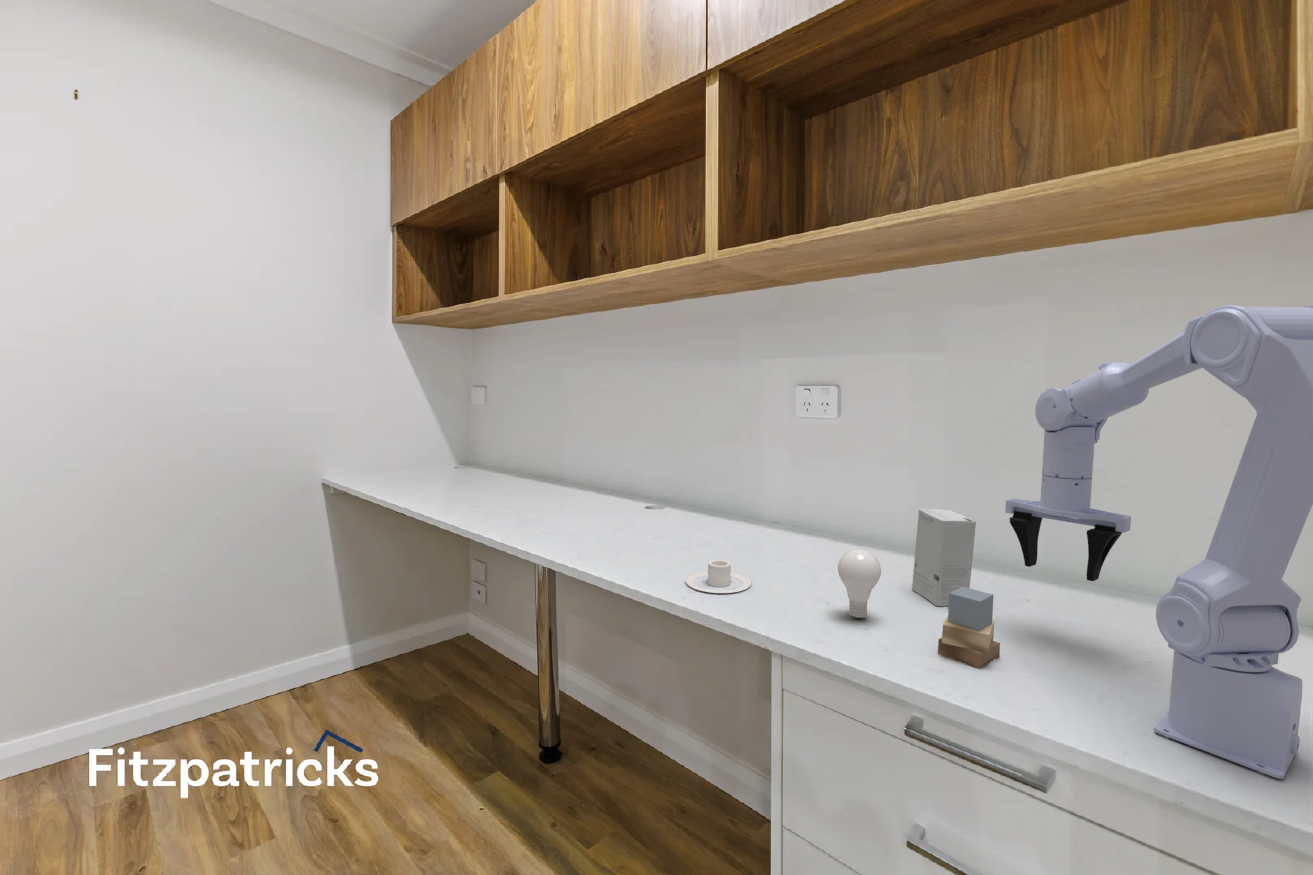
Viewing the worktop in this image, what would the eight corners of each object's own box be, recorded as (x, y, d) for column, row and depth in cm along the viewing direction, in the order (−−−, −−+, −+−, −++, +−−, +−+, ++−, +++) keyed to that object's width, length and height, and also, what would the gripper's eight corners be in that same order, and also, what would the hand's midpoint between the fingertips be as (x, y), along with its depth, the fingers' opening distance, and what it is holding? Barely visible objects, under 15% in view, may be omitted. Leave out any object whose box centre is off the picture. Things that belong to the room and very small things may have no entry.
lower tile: (999, 660, 80) (1000, 642, 79) (978, 672, 76) (979, 653, 76) (958, 646, 84) (959, 629, 84) (937, 656, 81) (938, 638, 81)
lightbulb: (871, 629, 88) (874, 558, 87) (830, 619, 92) (832, 550, 91) (884, 616, 94) (886, 548, 92) (844, 607, 97) (846, 541, 96)
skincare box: (911, 590, 105) (914, 508, 104) (943, 589, 106) (947, 507, 105) (938, 608, 97) (942, 519, 96) (972, 606, 98) (977, 518, 96)
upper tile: (993, 638, 81) (994, 620, 81) (988, 653, 76) (989, 634, 76) (949, 628, 84) (949, 611, 84) (941, 642, 79) (942, 624, 79)
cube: (992, 623, 80) (993, 594, 79) (978, 631, 77) (980, 601, 77) (961, 614, 83) (962, 586, 82) (948, 621, 80) (949, 593, 80)
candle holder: (672, 583, 110) (672, 561, 110) (718, 570, 118) (718, 549, 117) (718, 602, 101) (719, 577, 100) (764, 586, 108) (765, 563, 108)
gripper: (1141, 480, 78) (1134, 580, 79) (1022, 467, 90) (1017, 554, 91) (1122, 485, 74) (1115, 591, 75) (1000, 471, 86) (995, 563, 87)
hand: (1060, 572), depth 83 cm, fingers open, 7 cm apart
